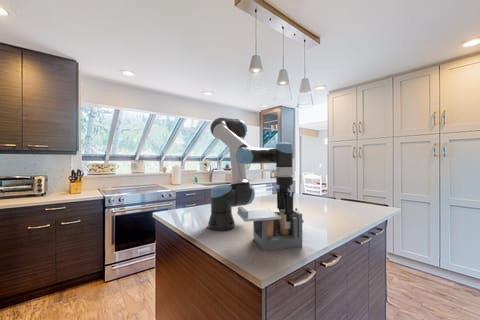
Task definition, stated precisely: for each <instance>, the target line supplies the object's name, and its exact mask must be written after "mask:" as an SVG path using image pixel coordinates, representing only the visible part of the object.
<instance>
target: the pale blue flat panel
mask: <svg viewBox="0 0 480 320" xmlns="http://www.w3.org/2000/svg"><path fill="white" fill-rule="evenodd" d="M275 212H276V211H273V210H271V209H256V210H254V209H253V210H247V209H246V208H245V207H243V206H237V211H236V214H237V215H238V216H239V217H240V219H242V221H244V222H245V223H247V222H253V221H261V220H274V219H281V216H280V215H278V214H276V213H275Z"/></svg>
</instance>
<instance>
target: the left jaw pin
mask: <svg viewBox="0 0 480 320" xmlns="http://www.w3.org/2000/svg"><path fill="white" fill-rule="evenodd" d="M266 221H267V237H273V220H266Z"/></svg>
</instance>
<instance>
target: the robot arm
mask: <svg viewBox="0 0 480 320" xmlns="http://www.w3.org/2000/svg"><path fill="white" fill-rule="evenodd" d="M209 129H210V133H211V135H212V136H213V137H214V138H215V139H217V140H219V141H221V142H222V143H223V144H224V145H226V147H228V148H229V158H230V159H229V160H230V168H231V169H230V170H231V178H232V181H231V183H230V184H220V185H216V186H213V187H212V188H211V190H210V215H209V219H208V223H207V227H208V229H210V230H212V231H218V232H220V231H221V232H223V231H228V230H233V229H234V228H235V225H236V224H235V219H234V217H233V213H232V209H233V208H234V207H243V206H247V205H250V204H252V203H253V201H255V200H254V199H255V196H256V195H255V194H256V192H255V188H254V187H253V185H251V184H250V183H251V182H250V181H249V180H248V179H247V173H246V171H247V170H246V165H252V164H254V165H255V164H276V165H275V167H276V169H275V172H276V178H275V179H276V180H275V181H276V182H275V183H276V185H277V186H278V188H276V208H277V210H278V211H280V209H285V213H284V229H289V228H290V214H293V209H294V194H295V193H294V191H292V190H291V186H292V185H293V184H294V182H293V181H294V178H293V176H294V168H293V167H294V166H293V154H294V152H293V144H292V143H290V142H277V143H276V144H275V147H269V148H268V147H266V148H265V147H252V146H250V144H248V143H246V142H245V137H246V136H247V132H248V128H247V124H246V123H245V121H244V120H242V119H239V118H238V119H237V118H228V117H217V118H215V119H214V120H213V121H212V122H211V124H210V128H209Z"/></svg>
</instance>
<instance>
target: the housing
mask: <svg viewBox="0 0 480 320" xmlns="http://www.w3.org/2000/svg"><path fill="white" fill-rule="evenodd" d="M274 212H275V213H276V214H278V215H280V211H279V210H278V211H274ZM302 219H303V213H302V212H300V211H298V210H297V211H296V210H295V208H293V214H290V235H285V236H281V235H280V219H274V220H273V237H267V221H266V220H261V221H252V222H253V224H252V225H253V240H254V241H255V243H256V244H257V245H258V247H259V248H260V249H261V250H262V251H263V252H264V251H265V252H267V251H274V250H282V249H291V248H301V247H303V223H302Z"/></svg>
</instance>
